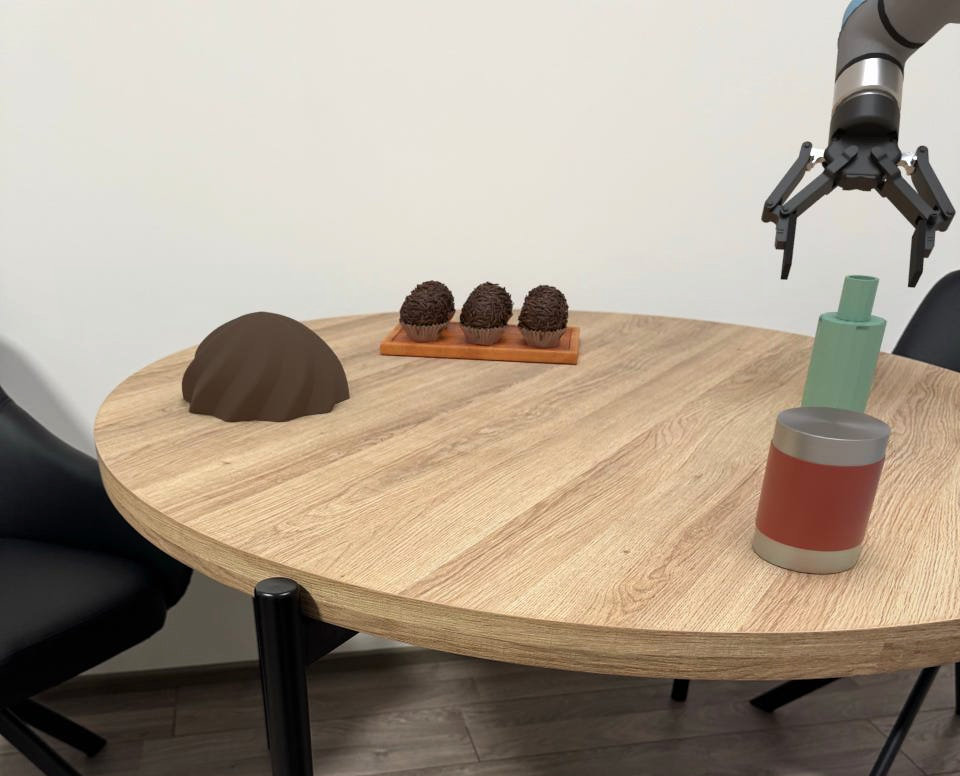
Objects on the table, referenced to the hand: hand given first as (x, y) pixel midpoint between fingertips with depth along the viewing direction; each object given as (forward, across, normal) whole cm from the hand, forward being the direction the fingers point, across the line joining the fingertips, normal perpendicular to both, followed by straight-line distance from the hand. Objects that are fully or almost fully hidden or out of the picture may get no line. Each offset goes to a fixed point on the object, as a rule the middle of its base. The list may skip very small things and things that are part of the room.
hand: (849, 276), depth 100 cm
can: (+39, +4, +17) cm, 43 cm away
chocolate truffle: (-4, +46, -27) cm, 54 cm away
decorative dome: (+20, +65, -3) cm, 68 cm away
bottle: (+17, 0, -5) cm, 18 cm away
